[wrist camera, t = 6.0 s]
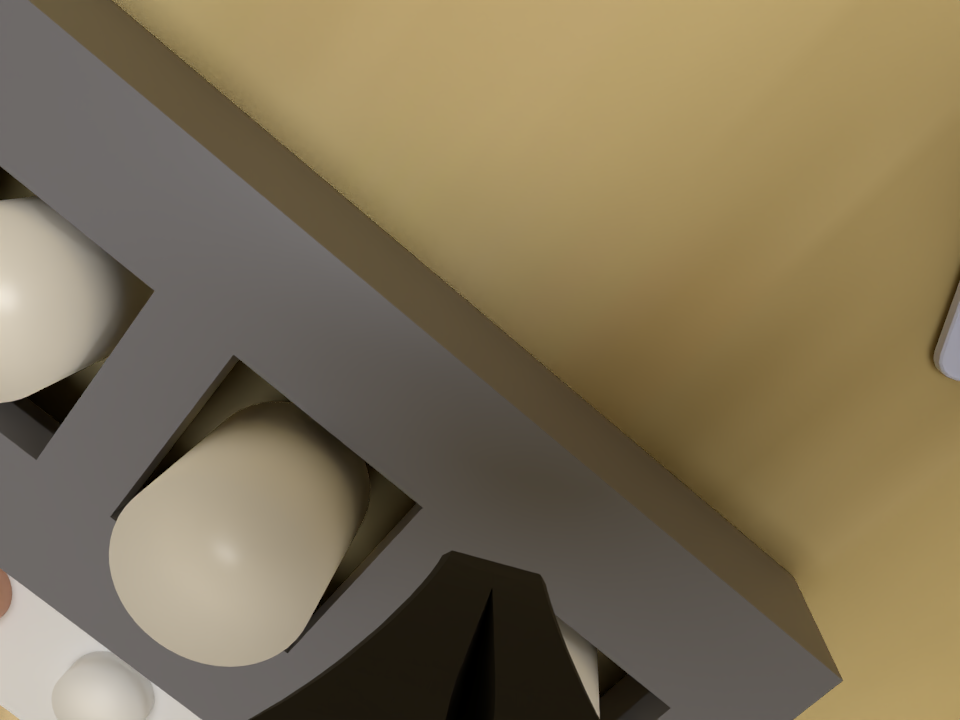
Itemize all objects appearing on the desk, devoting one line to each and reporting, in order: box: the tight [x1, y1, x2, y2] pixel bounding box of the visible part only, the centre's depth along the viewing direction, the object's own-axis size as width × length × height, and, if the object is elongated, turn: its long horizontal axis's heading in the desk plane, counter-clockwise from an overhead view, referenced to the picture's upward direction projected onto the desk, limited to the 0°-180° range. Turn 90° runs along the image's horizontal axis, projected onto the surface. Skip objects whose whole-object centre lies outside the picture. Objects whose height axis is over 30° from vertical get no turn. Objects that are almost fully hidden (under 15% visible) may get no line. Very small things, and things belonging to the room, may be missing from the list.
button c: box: [0, 196, 154, 403], centre depth 18 cm, size 4×4×4 cm
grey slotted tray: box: [0, 0, 843, 720], centre depth 19 cm, size 23×11×4 cm, turn 50°
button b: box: [109, 402, 370, 667], centre depth 17 cm, size 4×4×4 cm
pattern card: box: [0, 569, 202, 720], centre depth 23 cm, size 14×6×2 cm, turn 50°
